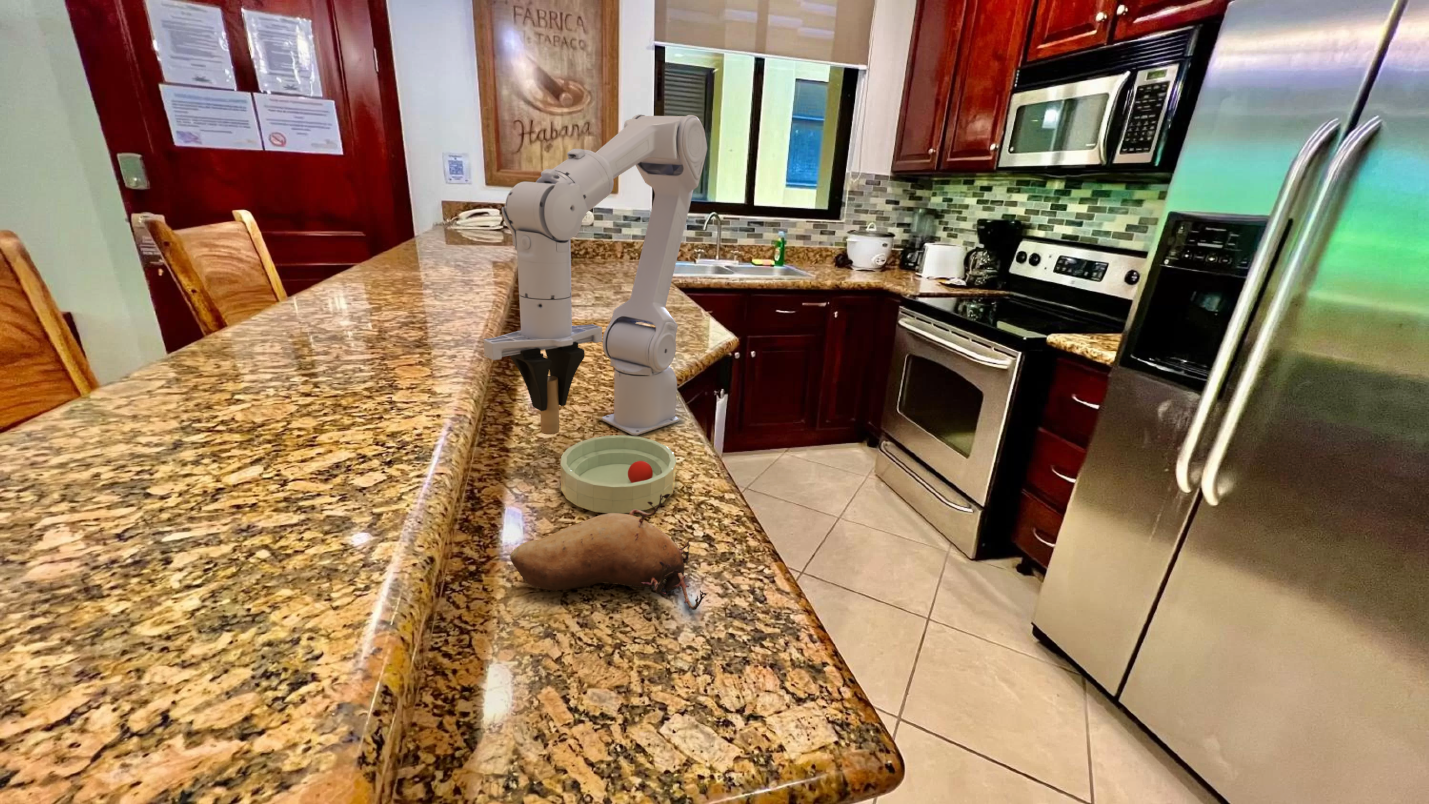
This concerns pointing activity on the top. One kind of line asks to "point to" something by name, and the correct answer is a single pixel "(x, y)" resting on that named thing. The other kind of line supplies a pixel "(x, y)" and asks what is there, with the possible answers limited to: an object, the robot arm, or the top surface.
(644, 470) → the ball
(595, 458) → the bowl
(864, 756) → the top surface
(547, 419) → the stick
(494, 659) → the top surface
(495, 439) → the top surface
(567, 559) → the vegetable
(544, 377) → the robot arm
